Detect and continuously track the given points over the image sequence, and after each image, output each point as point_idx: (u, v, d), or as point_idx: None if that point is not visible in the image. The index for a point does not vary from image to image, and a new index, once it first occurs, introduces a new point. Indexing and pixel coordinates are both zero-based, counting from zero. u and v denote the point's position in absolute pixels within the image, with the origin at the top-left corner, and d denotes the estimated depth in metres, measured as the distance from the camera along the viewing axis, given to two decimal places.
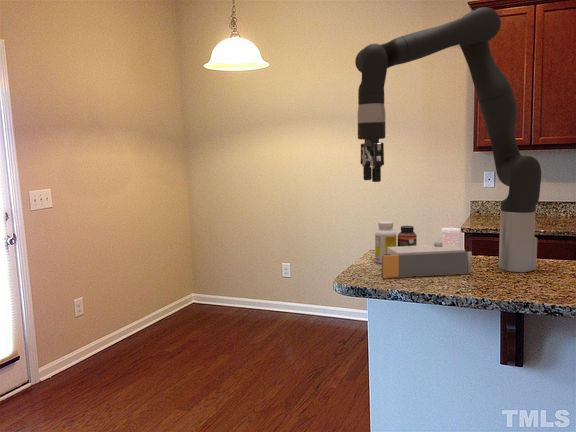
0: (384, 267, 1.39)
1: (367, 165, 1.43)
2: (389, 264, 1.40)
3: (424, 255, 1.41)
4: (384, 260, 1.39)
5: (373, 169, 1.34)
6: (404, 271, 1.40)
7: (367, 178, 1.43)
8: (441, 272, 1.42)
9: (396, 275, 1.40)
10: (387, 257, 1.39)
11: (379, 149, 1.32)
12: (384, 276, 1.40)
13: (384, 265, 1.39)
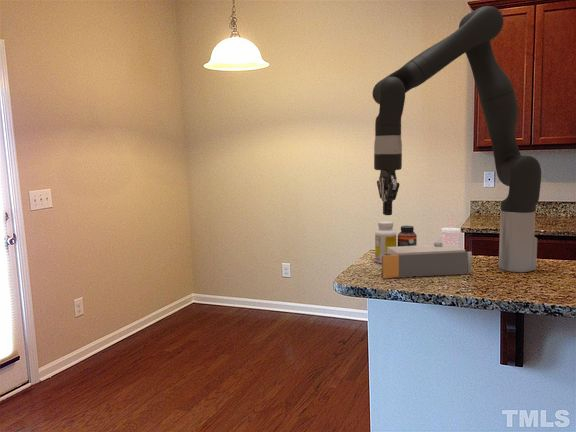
0: (384, 267, 1.39)
1: None
2: (389, 264, 1.40)
3: (424, 255, 1.41)
4: (384, 260, 1.39)
5: (385, 203, 1.40)
6: (404, 271, 1.40)
7: None
8: (441, 272, 1.42)
9: (396, 275, 1.40)
10: (387, 257, 1.39)
11: (394, 189, 1.35)
12: (384, 276, 1.40)
13: (384, 265, 1.39)
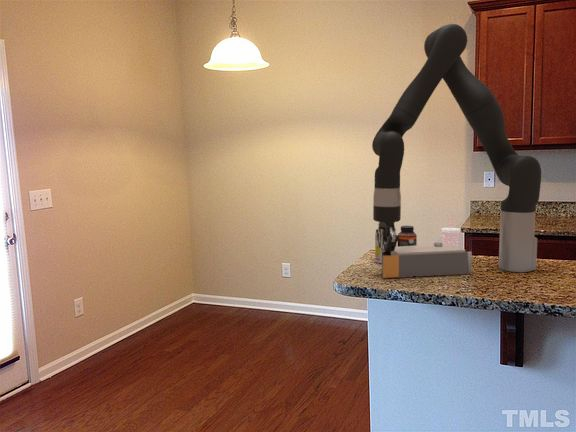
0: (384, 267, 1.39)
1: None
2: (389, 264, 1.39)
3: (424, 255, 1.40)
4: (384, 260, 1.39)
5: (384, 253, 1.42)
6: (404, 271, 1.40)
7: None
8: (441, 273, 1.42)
9: (396, 275, 1.40)
10: (387, 257, 1.39)
11: (392, 242, 1.37)
12: (384, 276, 1.40)
13: (384, 265, 1.39)
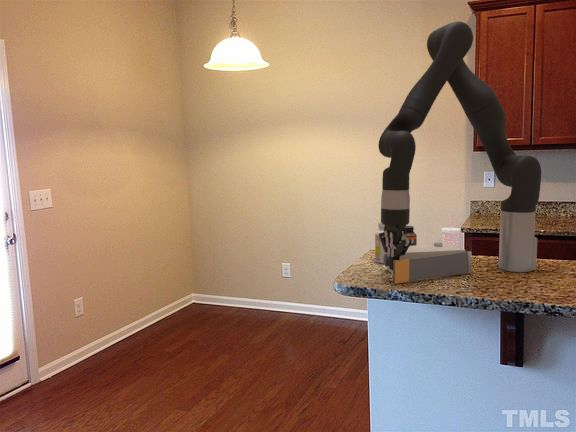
0: (396, 272, 1.33)
1: None
2: (400, 269, 1.34)
3: (431, 258, 1.37)
4: (396, 265, 1.33)
5: (392, 258, 1.35)
6: (413, 275, 1.36)
7: None
8: (445, 274, 1.40)
9: (407, 280, 1.35)
10: (399, 262, 1.33)
11: (405, 246, 1.31)
12: (396, 282, 1.34)
13: (396, 270, 1.33)
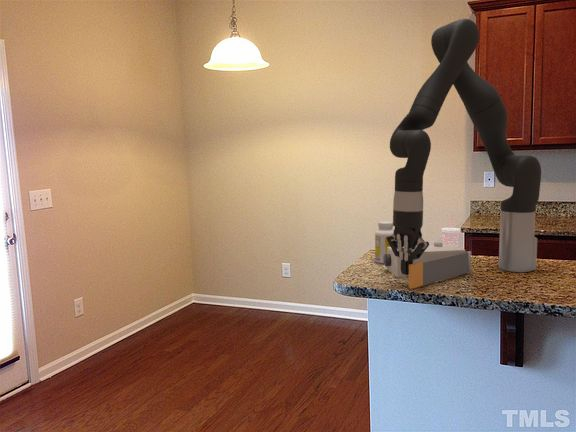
0: (412, 277, 1.28)
1: None
2: (416, 273, 1.29)
3: (440, 260, 1.35)
4: (412, 269, 1.28)
5: (406, 262, 1.30)
6: (426, 279, 1.32)
7: None
8: (451, 275, 1.38)
9: (421, 284, 1.31)
10: (414, 266, 1.28)
11: (423, 249, 1.27)
12: (412, 287, 1.29)
13: (412, 275, 1.28)
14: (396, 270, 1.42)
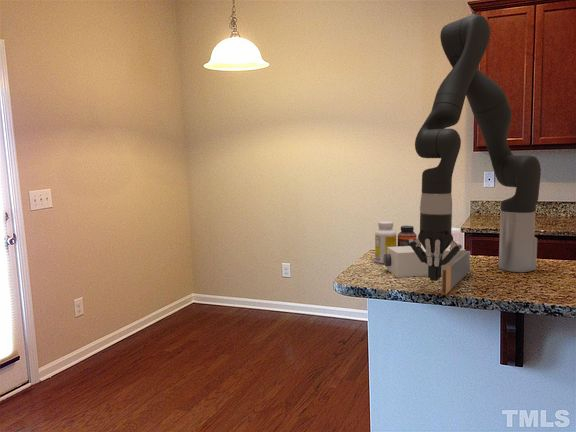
0: (446, 282, 1.22)
1: None
2: (448, 278, 1.24)
3: (457, 262, 1.32)
4: (446, 275, 1.22)
5: (436, 268, 1.24)
6: (452, 283, 1.27)
7: None
8: (462, 277, 1.37)
9: (449, 289, 1.26)
10: (447, 270, 1.23)
11: (456, 252, 1.22)
12: (446, 292, 1.23)
13: (446, 280, 1.22)
14: (396, 270, 1.42)
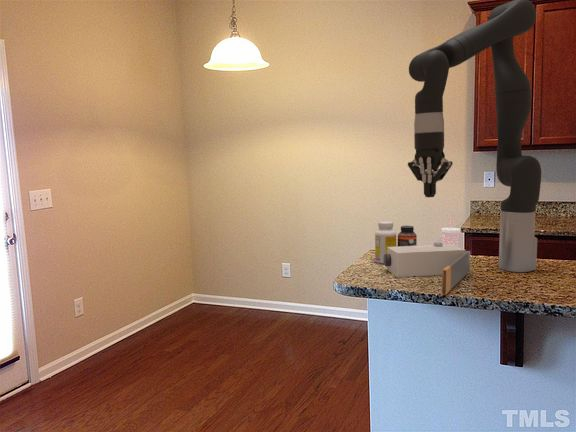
0: (446, 282, 1.22)
1: None
2: (448, 278, 1.24)
3: (457, 262, 1.32)
4: (446, 275, 1.22)
5: (430, 184, 1.32)
6: (452, 283, 1.27)
7: None
8: (462, 277, 1.37)
9: (449, 289, 1.26)
10: (447, 270, 1.23)
11: (446, 168, 1.29)
12: (446, 293, 1.23)
13: (446, 280, 1.22)
14: (396, 270, 1.42)
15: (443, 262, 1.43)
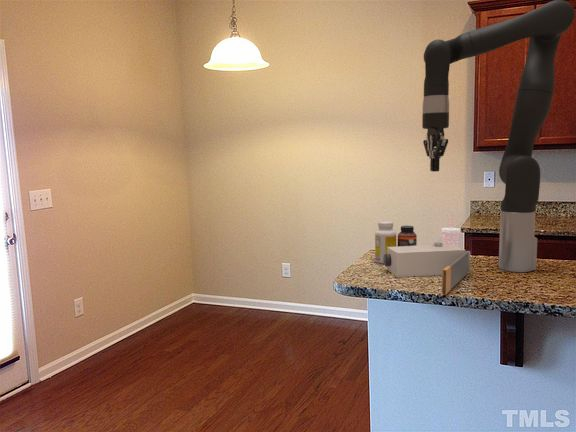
0: (446, 282, 1.22)
1: None
2: (448, 278, 1.24)
3: (457, 262, 1.32)
4: (446, 275, 1.22)
5: (433, 160, 1.49)
6: (452, 283, 1.27)
7: None
8: (462, 277, 1.37)
9: (449, 289, 1.26)
10: (447, 270, 1.23)
11: (443, 145, 1.44)
12: (446, 293, 1.23)
13: (446, 280, 1.22)
14: (396, 270, 1.42)
15: (443, 262, 1.43)
